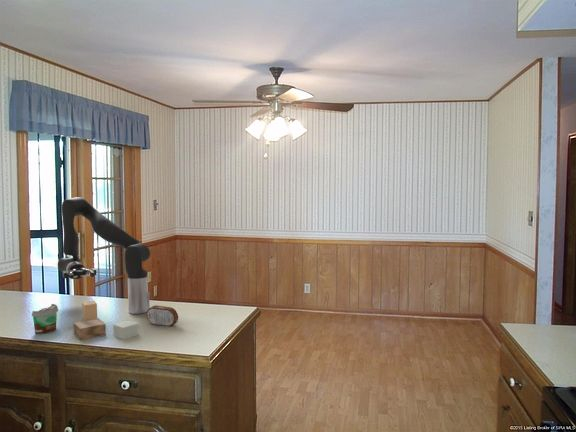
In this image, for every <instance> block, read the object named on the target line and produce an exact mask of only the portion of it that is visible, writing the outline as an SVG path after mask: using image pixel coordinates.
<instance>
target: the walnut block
mask: <svg viewBox="0 0 576 432" xmlns="http://www.w3.org/2000/svg"><path fill="white" fill-rule="evenodd" d="M106 329H107V328H106V323H105V322H104V321H102V320H101V319H100V318H98V317H97V319H91V320H86V321H83V320H82V321H76V322H73V334H74V335H75V337H77V339H78V340H80V341H85V340H89V339H92V338H98V337H103V336H106V335H107V332H106V331H107V330H106Z"/></svg>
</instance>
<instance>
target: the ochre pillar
mask: <svg viewBox="0 0 576 432" xmlns="http://www.w3.org/2000/svg"><path fill="white" fill-rule="evenodd" d="M81 306H82V308H81V310H82V321H86V320H91V319H97V318H98V303H97V302H96V301H95V300H91V301H84V302H82V303H81Z"/></svg>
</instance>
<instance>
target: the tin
mask: <svg viewBox="0 0 576 432" xmlns="http://www.w3.org/2000/svg"><path fill="white" fill-rule="evenodd" d="M146 318H147V320H148V322H149V323H150V324H152V325H155V326H163V327H173V325H176V324H177V323H178V320H179V314H178V312H177V310H176V309H175V308H173V307H171V306H162V305H158V304H157V305H152V306H151V307H150V308H149V309H148V311H147V312H146Z"/></svg>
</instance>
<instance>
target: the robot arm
mask: <svg viewBox="0 0 576 432" xmlns="http://www.w3.org/2000/svg"><path fill="white" fill-rule="evenodd" d="M77 216H82V217H84V218H85V219H86V220H88V221H89V223H90V224H91V226H92V229H93V231H94V233H95V234H96V235H97V236H98V237H100V238H101V239H102V240H104V241H105V242H109V243H111V244H113V245H115V246H118V247H121V248H123V249H124V250H125V251H124V265H125V272H126V274H127V299H128V300H127V303H128V306H127V307H128V308H127V309H128V313H129V314H132V315H139V314H144V313H147V311H148V309H149V308H151V307H150V305H151V304H150V291H148V290H149V288H148V283H149V282H148V271H147V270H146V269H144V268H143V262H145V261H146V262H147V260H149V259H150V257H151V249H150V247H148V245H147V244H145V243H143V242H142V241H140V240H138V239H136V238H135V237H134V236H132V235H131V234H129V233H128V232H126V231H125V230H124V229H122V228H121V227H119V226H118V225H117V224H116V223H115V222H114V221H112V220H111V219H109V218H107V217H106V216H105V215H103V214H102V213H101V212H100V211H98V210H97V209H96V208H95V207H94V206H93V205H91V203H90V202H89V201H87V200H86V199H85V198H83V197H82V196H81V197H80V196H79V197H78V196H77V197H76V196H75V197H71V198H66V199H64V200H63V201H62V204H61V217H62V226H63V244H62V253H63V254H64V255H66V256H71V257H62V258H60V259H59V260H58V262H57V269H58V270H59V271H60V272H61V273H62V277H63V279H67V278H68V279H71V280H80V279H82V278H83V277H91V278H94V277H95V276H97V273H98V272H97V271H98V270H97V269H96V268H94V267H91V268H86V266H85V265H84V264H82V263H81V260H80V256H79V242H80V241H79V239H80V237H79V235H78V232H77V230H76V228H75V225H74V223H75V222H74V221H75V217H77Z"/></svg>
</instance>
